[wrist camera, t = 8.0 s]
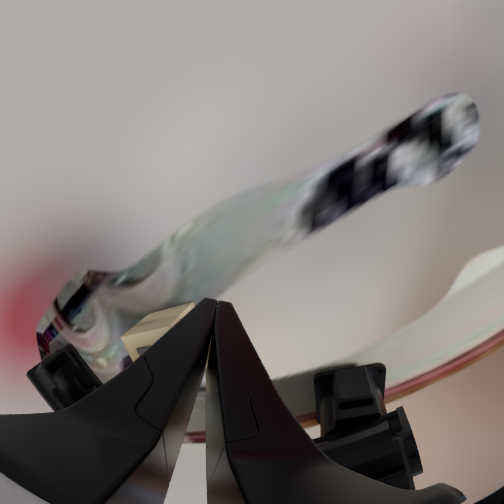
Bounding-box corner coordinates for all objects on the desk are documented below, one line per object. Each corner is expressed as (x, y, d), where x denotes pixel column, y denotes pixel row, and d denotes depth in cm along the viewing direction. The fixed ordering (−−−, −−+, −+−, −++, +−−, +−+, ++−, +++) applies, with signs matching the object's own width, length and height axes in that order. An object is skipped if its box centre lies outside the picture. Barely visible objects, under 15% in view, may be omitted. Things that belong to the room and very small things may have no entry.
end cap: (52, 356, 30) (21, 378, 24) (69, 338, 28) (33, 363, 22) (96, 411, 31) (70, 438, 24) (119, 401, 29) (90, 433, 22)
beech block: (216, 350, 24) (196, 384, 19) (171, 358, 25) (147, 388, 20) (193, 301, 24) (167, 327, 19) (149, 313, 25) (118, 338, 20)
